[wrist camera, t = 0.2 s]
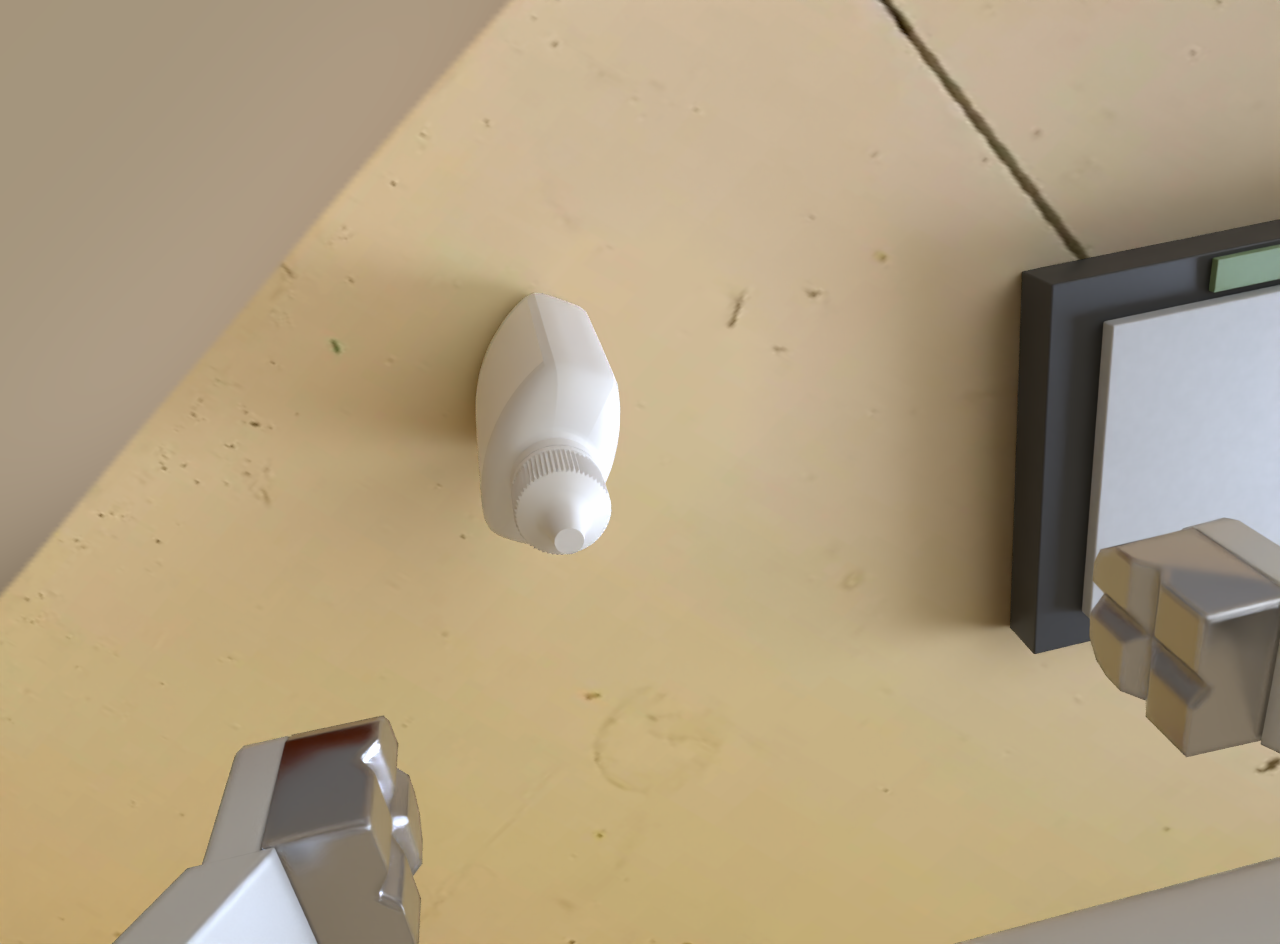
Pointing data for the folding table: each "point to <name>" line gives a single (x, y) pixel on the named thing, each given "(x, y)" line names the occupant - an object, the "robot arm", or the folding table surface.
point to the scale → (1141, 411)
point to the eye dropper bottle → (546, 427)
